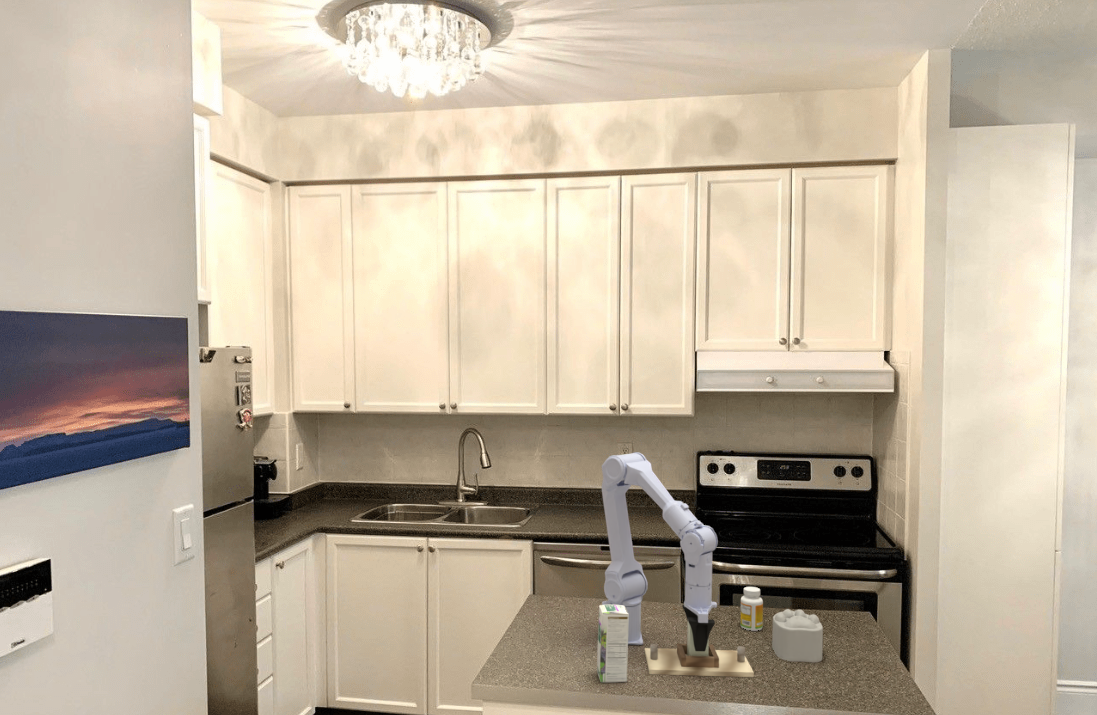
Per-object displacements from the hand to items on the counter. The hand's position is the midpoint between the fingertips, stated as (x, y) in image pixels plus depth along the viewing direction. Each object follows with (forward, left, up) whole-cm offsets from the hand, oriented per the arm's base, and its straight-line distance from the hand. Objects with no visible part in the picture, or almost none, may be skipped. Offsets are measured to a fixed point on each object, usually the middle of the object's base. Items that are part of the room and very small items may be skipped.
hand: (697, 644), depth 173 cm
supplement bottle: (+17, +24, -5) cm, 30 cm away
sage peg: (0, 0, -3) cm, 3 cm away
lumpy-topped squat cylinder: (+24, +10, -5) cm, 26 cm away
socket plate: (0, 0, -4) cm, 4 cm away
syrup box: (-19, -8, -5) cm, 21 cm away
